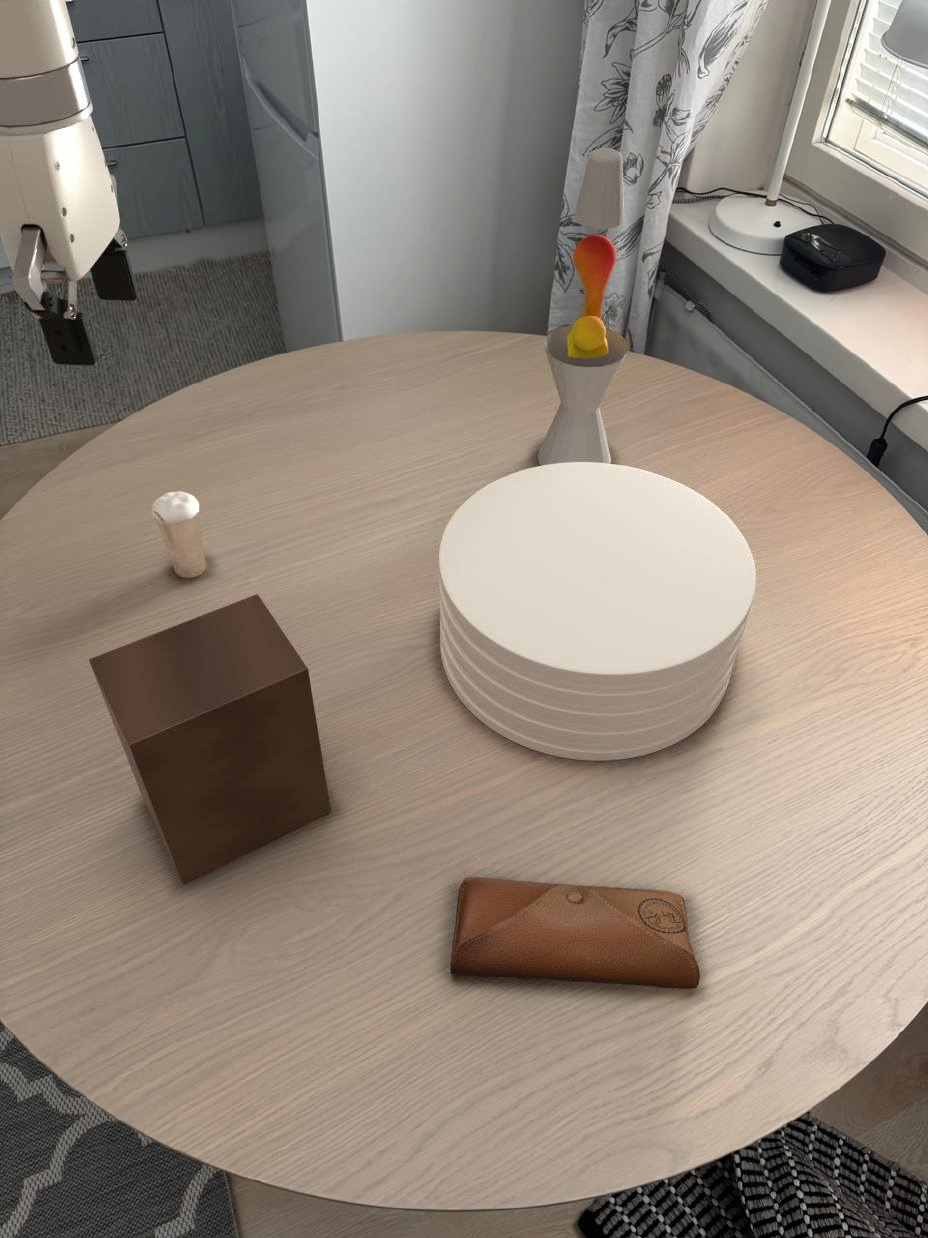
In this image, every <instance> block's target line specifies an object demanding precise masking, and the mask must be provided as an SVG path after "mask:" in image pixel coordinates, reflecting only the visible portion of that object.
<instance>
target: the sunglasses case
mask: <svg viewBox="0 0 928 1238" xmlns="http://www.w3.org/2000/svg"><path fill="white" fill-rule="evenodd" d="M457 896H458V897H457V906H456V918H455V925H454V931H453V937H452V944H451V955H450V962H449V965H450V969H449V970H450V974H451V975H454V976H460V977H476V978H507V979H519V980H520V979H523V980H546V981H561V982H562V981H563V982H576V983H577V982H579V983H582V982H583V983H596V984H610V985H624V986H626V985H627V986H640V987H650V988H651V987H652V988H661V989H679V990H680V989H681V990H695V989H697V987H699V984H700V978H701V974H700V968H699V967H700V966H699V964H698V961H697V960H696V957H695V953H694V950H693V946H692V943H691V940H690V935H689V934H690V932H689V926H688V917H687V908H686V907H687V906H686V903H685V899H684V897H683V896H682V895H681V894H679V893H677V892H673V891H667V890H657V889H645V888H629V887H628V888H627V887H609V886H594V885H579V884H578V885H577V884H564V883H563V884H562V883H551V882H549V883H548V882H540V881H539V882H537V881H528V880H527V881H525V880H516V879H515V880H514V879H502V878H492V877H480V876H479V877H478V876H473V877H465V878H464V879H463V880H462V881H461V884H460V886H459V889H458V895H457Z"/></svg>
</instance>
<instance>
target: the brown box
mask: <svg viewBox="0 0 928 1238" xmlns="http://www.w3.org/2000/svg"><path fill="white" fill-rule="evenodd" d="M88 662H89V665H90V668H91V670H92V673H93V675H94V678H95V680H96V682H97V685H98V687H99V690H100V693H101V696H102V698H103V700H104V703H105V705H106V708H107V710H108V713H109V715H110V718H111V721H112V724H113V726H114V728H115V731H116V733H117V736H118V738H119V741H120V744H121V746H122V749H123V751H124V753H125V754H124V755H125V757H126V759H127V762H128V764H129V767H130V769H131V772H132V775H133V777H134V779H135V783H136V784H137V786H138V790H139V792H140V794H141V798H142V799H143V802H144V805H145V807H146V809H147V812H148V813H149V815H150V817H151V820H152V823H153V824H154V826H155V828H156V830H157V832H158V835H159V837H160V839H161V841H162V843H163V845H164V847H165V850H166V852H167V854H168V856H169V858H170V861H171V863H172V865H173V867H174V869H175V871H176V873H177V875H178V878H179V881H180V883H181V884H182V885H185V884H187V883H189V882H191V881H193V880H196V879H197V878H199V877H201V876H204V875H206V874H207V873H210V872H211V871H214V870H216V869H218V868H220V867H222V866H224V865H226V864H228V863H230V862H232V861H234V860H236V859H238V858H240V857H242V856H244V855H246V854H249V853H250V852H253V851H254V850H256V849H258V848H261V847H263V846H265V845H266V844H268V843H271V842H273V841H274V840H278V838H281V837H283V836H285V835H287V834H289V833H292V832H293V831H295V830H297V829H299V828H301V827H303V826H305V825H308V824H309V823H312V822H314V821H316V820H318V819H320V818H322V817H323V816H326V815H327V814H330V813H331V812H332V809H331V801H330V797H329V796H330V795H329V790H328V783H327V777H326V772H325V765H324V759H323V752H322V747H321V740H320V733H319V728H318V727H319V726H318V722H317V715H316V709H315V708H316V707H315V703H314V696H313V690H312V684H311V678H310V673H309V667H308V666H307V665H306V663H305V661H304V660H303V659H302V657H301V656H300V654H299V653H298V651H297V650H296V648H295V647H294V646H293V644H292V643H291V641H290V640H289V638H288V636H287V634H285V632H284V630H283V628H281V626H280V624H279V623H278V622H277V620H276V619H275V617H274V615H273V614H272V613H271V612H270V610H269V609H268V607H267V606H266V604H265V603H264V601H263V600H262V598H261V597H260V595H259V594H258V593H255V594H253V595H251V596H248V597H245V598H243V599H240V600H238V601H235V602H232V603H231V604H228V605H225V606H222V607H219V608H217V609H215V610H212V611H209V612H207V613H204V614H202V615H199V616H197V617H194V618H192V619H189V620H186V621H183V622H182V623H178V624H176V625H174V626H171V627H168V628H166V629H163V630H161V631H159V632H156V633H153V634H151V635H147V636H146V637H142V638H140V639H137V640H135V641H133V642H130V643H128V644H124V645H122V646H119V647H117V648H115V649H112V650H110V651H109V650H108V651H107V652H105V653H102V654H99V655H96V656H94V657H92V658H91V657H90V658H89V659H88Z"/></svg>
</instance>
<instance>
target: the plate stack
mask: <svg viewBox="0 0 928 1238" xmlns="http://www.w3.org/2000/svg"><path fill="white" fill-rule="evenodd" d="M756 586H757V572H756V564H755V560H754V556H753V553H752V551H751V548H750V546H749V544H748V542H747V540H746V539H745V537H744V535H743V534H742V532H741V531H740V529H739V528H738V527H737V525H736V524H735V523H734V522H733V520H731V518H730V517H729V516H728V515H727V514H726V513H725V512H724V511H722V510H721V508H719V507H718V506H717V505H715V504H714V503H713V502H712V501H710V500H709V499H708V498H707V497H704V496H703V495H702V494H700V493H699V492H698V491H695V490H693V489H691V488H689V487H688V486H686V485H684V484H682V483H680V482H678V481H675V480H673V479H671V478H668V477H666V476H663V475H661V474H657V473H654V472H652V471H648V470H644V469H641V468H636V467H632V466H627V465H621V464H614V463H610V464H607V463H595V462H569V463H557V464H549V465H543V466H541V465H538V466H534V467H529V468H525V469H521V470H518V471H516V472H513V473H511V474H507V475H505V476H503V477H500V478H498V479H496V480H493V482H490V483H488V484H487V485H485V486H483V487H482V488H480V489H479V490H477V491H476V492H475V493H473V494H472V495H470V497H468V498H467V499H466V500H465V501H464V502H463V503H461V505H460V506H459V507H458V508H457V509H456V511H455V512H454V513H453V515H452V516H451V518H450V519H449V521H448V522H447V524H446V527H445V529H444V531H443V533H442V536H441V540H440V544H439V549H438V591H439V592H438V593H439V632H440V633H439V643H440V644H439V647H440V649H439V651H440V657H441V663H442V667H443V670H444V673H445V676H446V678H447V680H448V682H449V684H450V686H451V688H452V690H453V692H454V693H455V695H456V696H457V697H458V699H459V700H460V702H461V703H462V704H463V705H464V706H465V708H466V709H467V710H468V711H469V712H470V713H471V714H472V715H473V716H474V717H476V718H477V719H478V720H479V721H480V722H481V723H482V724H484V725H485V726H487V727H488V728H489V729H491V730H492V731H494V732H495V733H497V734H498V735H500V736H501V737H504V738H505V739H507V740H509V741H511V742H514V743H516V744H518V745H519V746H523V747H524V748H527V749H530V750H532V751H535V752H539V753H542V754H546V755H549V756H553V757H558V758H565V759H570V760H576V761H577V760H578V761H589V762H590V761H591V762H596V761H597V762H603V761H619V760H627V759H633V758H638V757H642V756H646V755H649V754H653V753H656V752H659V751H661V750H664V749H666V748H669V747H671V746H674V745H675V744H677V743H679V742H681V741H683V740H684V739H686V738H687V737H689V736H690V735H692V734H693V733H695V732H696V731H697V730H698V729H699V728H701V727H702V726H703V725H705V723H706V722H707V721H708V720H709V719H710V717H712V715H713V714H714V712H715V711H716V710H717V709H718V708H719V706H720V704H721V702H722V701H723V699H724V696H725V694H726V692H727V688H728V686H729V682H730V679H731V675H732V671H733V668H734V665H735V663H736V658H737V655H738V652H739V649H740V646H741V642H742V638H743V634H744V632H745V628H746V625H747V621H748V619H749V614H750V611H751V608H752V604H753V601H754V598H755V593H756V588H757V587H756Z"/></svg>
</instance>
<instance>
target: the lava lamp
mask: <svg viewBox="0 0 928 1238" xmlns="http://www.w3.org/2000/svg"><path fill="white" fill-rule="evenodd" d="M624 195H625V193H624V166H623V156H622V153H621V152H620V151H619V150H616V149H614V148H610V147H600V148H595V149H593V150H592V151H591V152H590V153H589V155H588V159H587V162H586V166H585V171H584V175H583V180H582V183H581V188H580V192H579V195H578V200H577V203H576V208H575V212H574V215H573V218H574V220H575V222H577V223H578V224H579V225H581V226H583V227H586V228H589V229H599V230H606V229H607V230H608V229H613V228H616V227H619V226H621V225H622V224H623V223H625V197H624ZM572 257H573V258H572V259H573V265H574V267H575V270H576V271H577V273H578V275H579V278H580V280H581V283H582V285H583V290H584V296H585V298H584V306H583V309H582V312H581V315H580V318H578V319H577V320H576V321H575V322H574V324H569V325H563V326H559V327H558V328H556V329H554V330H552V331H551V332H549V334H548V335H546V336H545V339H544V343H543V346H544V351H545V354H546V357H547V360H548V364H549V367H550V371H551V375H552V378H553V381H554V384H555V389H556V391H557V394H558V398H559V401H560V404H559V406H558V408H557V411H556V413H555V415H554V417H553V419H552V422H551V423H550V426H549V428H548V430H547V432H546V435H545V437H544V438H543V441H542V444H541V446H540V448H539V450H538V454H537V460H538V464H539V466H543V465H549V464H557V463H569V462H595V463H607V464H612V463H611V462H612V458H611V453H610V449H609V444H608V440H607V436H606V431H605V427H604V421H603V417H602V412H601V409H600V406H601V403H602V401H603V399H604V398H605V396H606V394H607V392H608V391H609V389H610V386H611V385H612V383H613V381H614V379H615V377H616V376H617V373H618V372H619V370H620V368H621V366H622V364H623V362H624V361H625V359H626V357H627V355H628V349H629V345H628V342H627V341H626V339H625V338H624V337H623V336H622V335H621V334H620V333H618V332H616V331H615V330H613V329H611V328H609V327H606V326H605V323H604V322H603V320H602V308H603V307H602V306H603V302H604V295H605V292H606V289H607V286H608V283H609V280H610V278H611V275H612V273H613V270H614V267H615V265H616V264H617V263H616V262H617V250H616V247H615V245H614V243H613V242H612V240H611V239H610V238H608V237H607V236H604V235H602V234H590V235H587V236H585V237H584V238H582V239H581V240H580V241H579V242H578V243H577V245H576V246H575V249H574V251H573V256H572Z"/></svg>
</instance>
